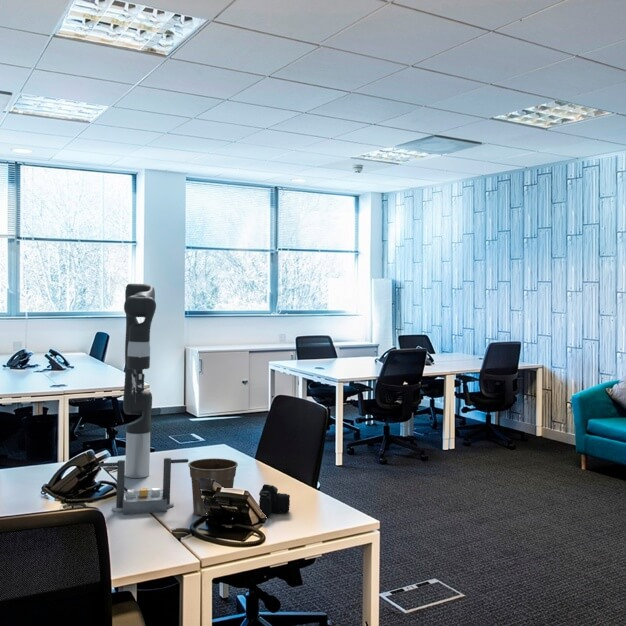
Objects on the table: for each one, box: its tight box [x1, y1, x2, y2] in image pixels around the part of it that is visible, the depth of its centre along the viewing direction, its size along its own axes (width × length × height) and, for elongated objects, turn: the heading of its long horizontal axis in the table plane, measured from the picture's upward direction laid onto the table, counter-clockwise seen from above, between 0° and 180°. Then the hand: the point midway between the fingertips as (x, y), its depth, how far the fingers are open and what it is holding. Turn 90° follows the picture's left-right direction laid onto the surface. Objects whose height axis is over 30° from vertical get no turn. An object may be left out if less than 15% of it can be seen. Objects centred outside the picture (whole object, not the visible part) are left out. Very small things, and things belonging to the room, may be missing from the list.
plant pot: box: [187, 457, 239, 517], centre depth 221 cm, size 16×16×16 cm
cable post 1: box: [98, 459, 126, 513], centre depth 220 cm, size 5×10×16 cm, turn 110°
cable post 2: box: [162, 457, 189, 509], centre depth 227 cm, size 5×10×16 cm, turn 110°
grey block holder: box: [122, 487, 168, 516], centre depth 223 cm, size 12×14×6 cm
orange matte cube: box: [139, 487, 148, 497], centre depth 223 cm, size 2×2×2 cm
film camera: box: [258, 484, 291, 519], centre depth 223 cm, size 15×10×9 cm, turn 176°
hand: (137, 401), depth 231 cm, fingers open, 8 cm apart
